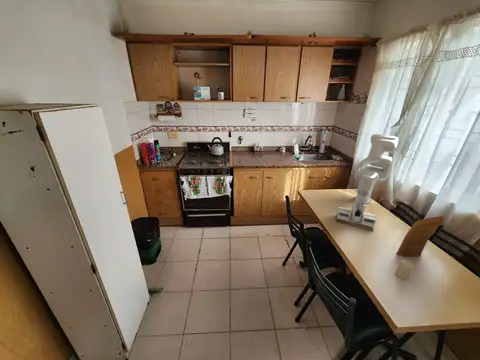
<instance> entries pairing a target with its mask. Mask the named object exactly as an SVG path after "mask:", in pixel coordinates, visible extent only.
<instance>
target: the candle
mask: <svg viewBox="0 0 480 360" xmlns="http://www.w3.org/2000/svg"><path fill="white" fill-rule="evenodd" d="M414 267H415V266H414V264H413V263H412V262H411V261H410V260H409V259H401V260H400V262H399V264H398V266H397V269H396V270H395V276H396V277H398V278H399V279H400V280H402V281H407V280H408V279H409V277H410V275H411V274H412V271H413V269H414Z"/></svg>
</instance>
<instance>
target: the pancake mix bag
mask: <svg viewBox="0 0 480 360" xmlns="http://www.w3.org/2000/svg"><path fill="white" fill-rule="evenodd" d="M443 221H444V216H441V215H439V216H434V217H430V218H424V219H423V218H422V219H421V218H420V219H418V220H417V221H415V222H414V223H413V225H412V226H411V227H410V228H409V230H408V231H407V232H406V234H405V235H404V237H403V239H402V242H401V244H400V246H399V248H398V250H397V251H396V253H395V254H396V255H397V256H399V257H401V258H414V257H415V258H416V257H421V256H422V253H423V251H424V249H425V247H426V245H427V243H428V240H430V238H431V236H433V234H435V233H436V231H437V229H438V228H439V226H441V224H442V223H443Z"/></svg>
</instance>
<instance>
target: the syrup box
mask: <svg viewBox="0 0 480 360" xmlns="http://www.w3.org/2000/svg"><path fill="white" fill-rule="evenodd" d="M358 207H359V206H358ZM366 207H367V206H366V203H365V204H364V207H363V208H362V209H361V214H360V217H357V216H355V212H356V210H357V207H355V200H354V202H353V205H352V209H351V215H350V219H351V220H352V222H360V221H361V218H362V215H363V213H364V212H365V211H366V210H365V209H366ZM358 209H359V208H358Z"/></svg>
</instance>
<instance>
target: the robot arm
mask: <svg viewBox="0 0 480 360" xmlns="http://www.w3.org/2000/svg"><path fill="white" fill-rule="evenodd" d="M398 142H399V138H398V137H397V136H394V135H386V134H377V133H375V134H372V135H371V136H370V143H371V144H370V145H371V146H370V149H369V152H368V155H367V157H365V158H364V159H362V160H361V161H360V162H358V164H357V166H356V169H355V172H354V175H353V176H354V178H355V179H356V180H357V181H359V183H358V187H357V190H356V196H354V201H355V207H357V210H356V212H355V216H357V217H360V214H361V209H362V208H363V207H364V204H365V205H367V204H370V203H371V202H372V201H371V196H372V193H373V189H374V186H375V183H376V182H377V181H386V180H387V179H388V177H389V175H390V171H391V168H392V165H393V157H391V156H388V155H384V153H394V152H395V151H396V149H397V146H398V144H399V143H398ZM366 165H367V166H366ZM364 166H365V167H364ZM362 167H364V169H362ZM358 206H359V207H358ZM358 208H359V209H358Z"/></svg>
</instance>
